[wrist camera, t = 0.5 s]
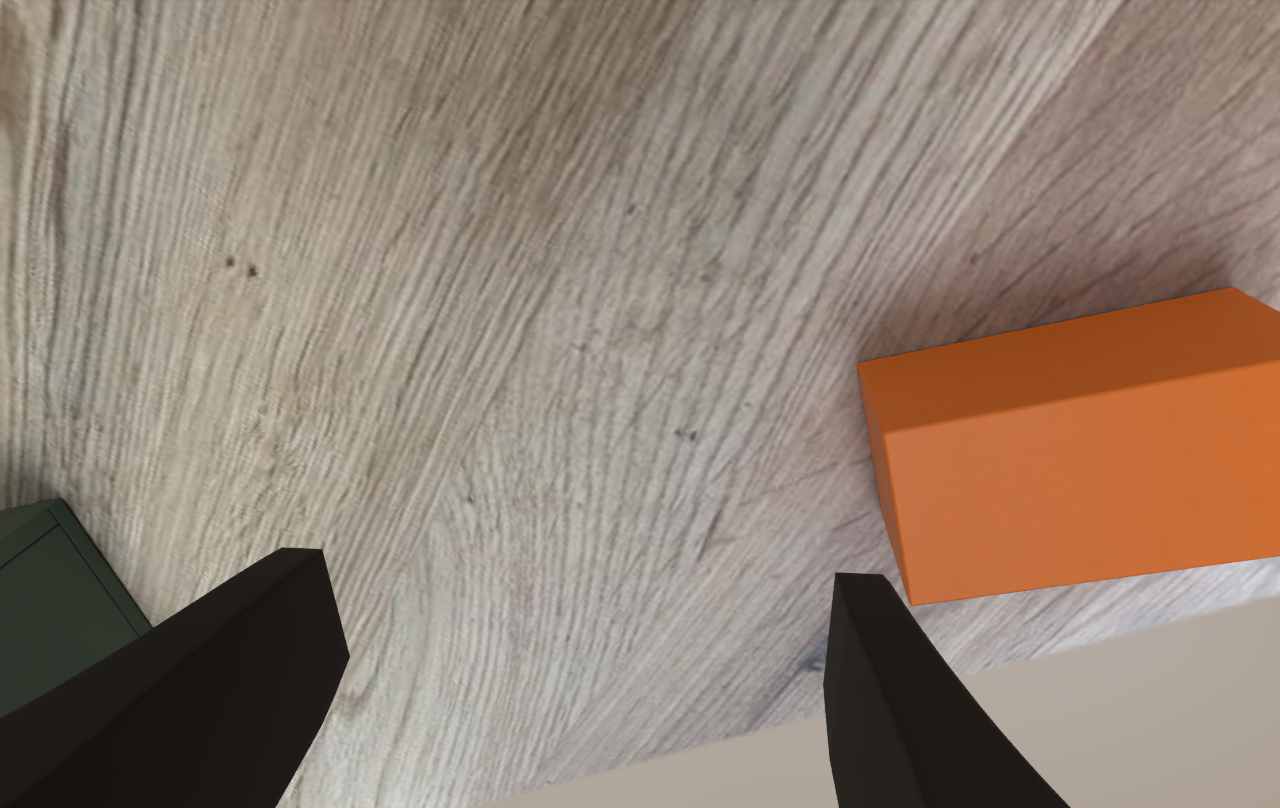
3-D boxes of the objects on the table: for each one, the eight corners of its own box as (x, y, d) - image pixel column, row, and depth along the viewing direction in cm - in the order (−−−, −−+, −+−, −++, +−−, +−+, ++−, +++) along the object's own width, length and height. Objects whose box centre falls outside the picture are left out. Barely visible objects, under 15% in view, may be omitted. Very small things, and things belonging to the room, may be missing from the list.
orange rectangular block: (1225, 461, 19) (1324, 551, 15) (882, 516, 20) (910, 607, 17) (1233, 285, 17) (1348, 347, 14) (856, 361, 18) (881, 432, 15)
